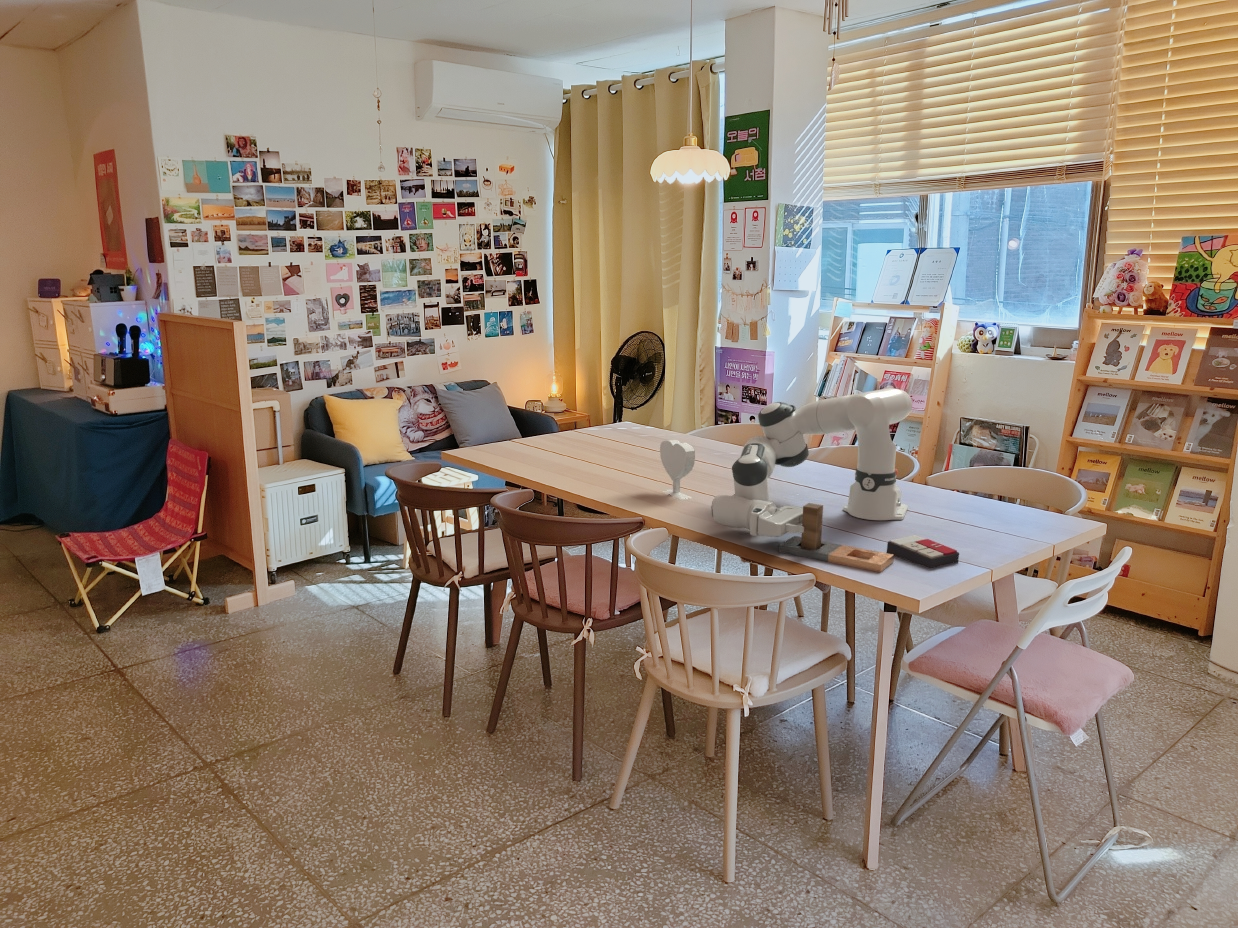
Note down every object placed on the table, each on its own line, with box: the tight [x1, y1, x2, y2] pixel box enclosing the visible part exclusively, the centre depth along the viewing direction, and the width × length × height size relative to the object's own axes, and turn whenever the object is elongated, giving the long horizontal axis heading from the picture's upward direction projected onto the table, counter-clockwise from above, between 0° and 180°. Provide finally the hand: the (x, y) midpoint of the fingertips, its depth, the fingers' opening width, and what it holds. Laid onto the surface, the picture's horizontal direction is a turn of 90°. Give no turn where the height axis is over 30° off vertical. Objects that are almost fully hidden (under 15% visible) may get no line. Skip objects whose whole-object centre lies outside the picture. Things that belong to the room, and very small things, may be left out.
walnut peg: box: [800, 502, 824, 550], centre depth 244 cm, size 4×4×13 cm
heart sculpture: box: [659, 439, 696, 500], centre depth 302 cm, size 16×5×18 cm, turn 31°
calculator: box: [886, 534, 960, 569], centre depth 241 cm, size 11×4×15 cm
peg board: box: [778, 535, 895, 573], centre depth 241 cm, size 10×28×2 cm, turn 55°
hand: (811, 525), depth 243 cm, fingers open, 8 cm apart
